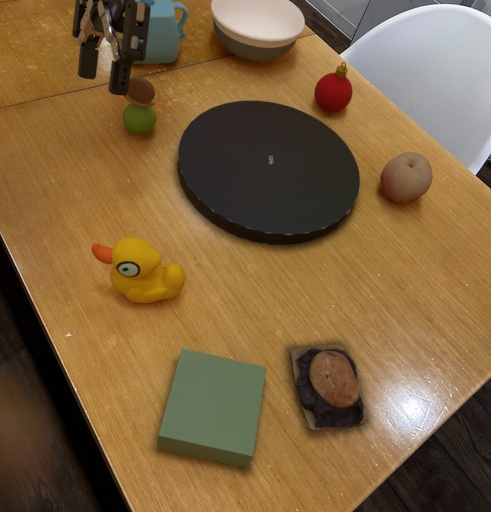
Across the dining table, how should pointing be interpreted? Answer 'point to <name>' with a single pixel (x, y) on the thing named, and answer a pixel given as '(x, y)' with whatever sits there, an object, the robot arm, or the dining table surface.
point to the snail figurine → (139, 107)
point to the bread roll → (327, 387)
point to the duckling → (140, 270)
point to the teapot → (163, 32)
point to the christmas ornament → (334, 90)
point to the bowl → (257, 27)
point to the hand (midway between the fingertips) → (101, 86)
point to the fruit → (406, 177)
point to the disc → (267, 172)
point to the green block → (213, 408)
